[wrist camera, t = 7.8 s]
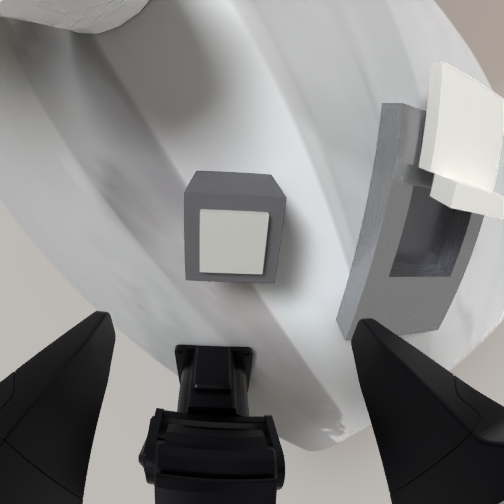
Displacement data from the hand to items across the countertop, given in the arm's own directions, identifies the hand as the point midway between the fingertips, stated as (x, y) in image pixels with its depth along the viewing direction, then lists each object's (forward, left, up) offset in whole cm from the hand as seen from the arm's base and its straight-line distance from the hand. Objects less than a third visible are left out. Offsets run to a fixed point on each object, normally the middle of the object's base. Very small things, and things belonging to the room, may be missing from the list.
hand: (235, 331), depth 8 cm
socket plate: (0, -14, -11) cm, 18 cm away
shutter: (+7, -14, -8) cm, 18 cm away
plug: (0, 0, -11) cm, 11 cm away
